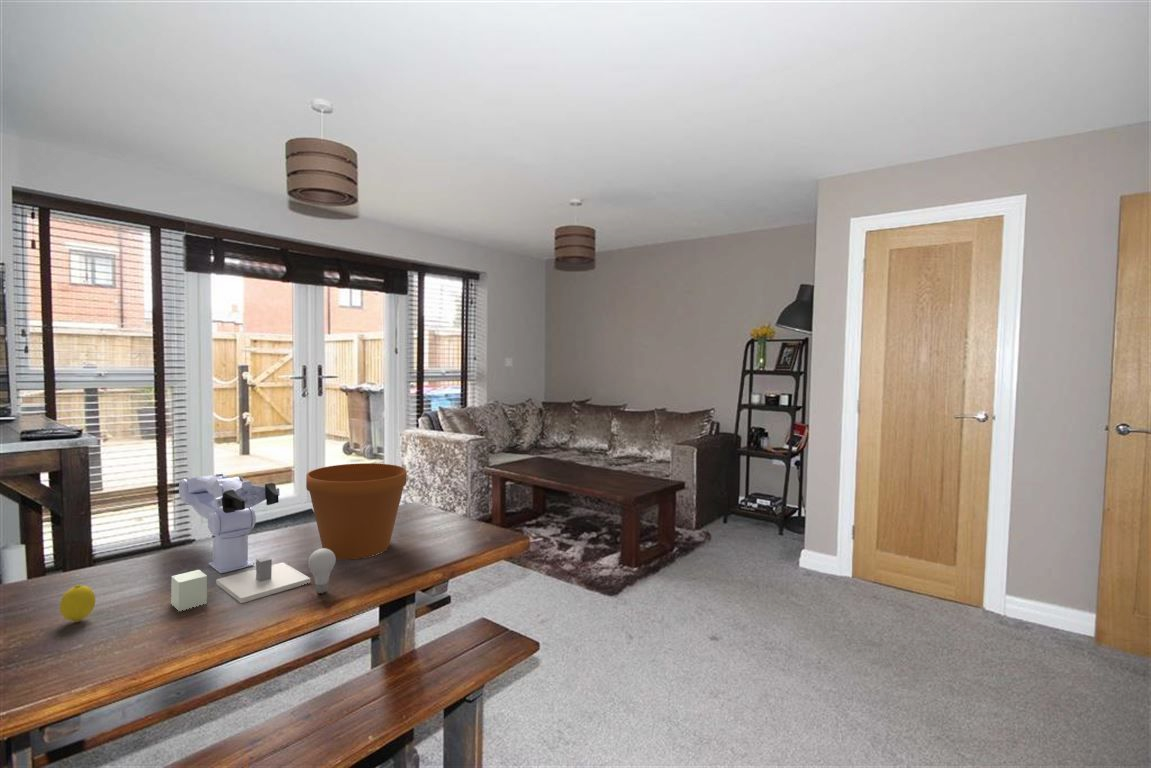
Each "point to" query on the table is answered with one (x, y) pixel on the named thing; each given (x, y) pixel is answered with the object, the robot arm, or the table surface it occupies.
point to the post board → (263, 588)
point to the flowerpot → (356, 506)
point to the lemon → (77, 603)
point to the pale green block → (188, 590)
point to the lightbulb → (321, 567)
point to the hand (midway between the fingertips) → (260, 502)
